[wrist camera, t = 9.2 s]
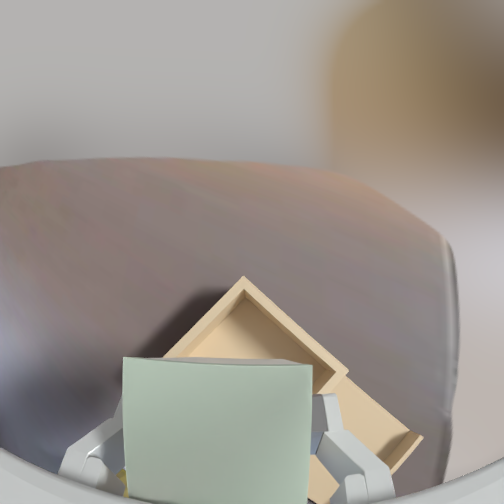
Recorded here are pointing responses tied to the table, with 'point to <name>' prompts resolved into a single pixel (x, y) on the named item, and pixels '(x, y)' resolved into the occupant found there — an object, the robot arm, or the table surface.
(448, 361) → the table surface
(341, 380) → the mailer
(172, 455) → the carton
